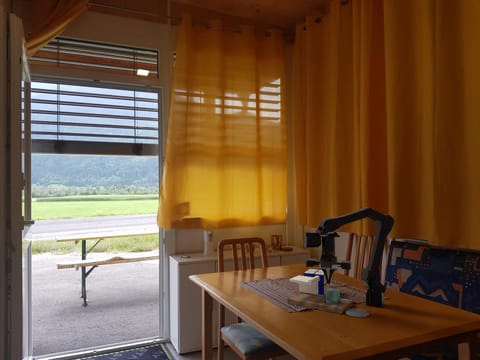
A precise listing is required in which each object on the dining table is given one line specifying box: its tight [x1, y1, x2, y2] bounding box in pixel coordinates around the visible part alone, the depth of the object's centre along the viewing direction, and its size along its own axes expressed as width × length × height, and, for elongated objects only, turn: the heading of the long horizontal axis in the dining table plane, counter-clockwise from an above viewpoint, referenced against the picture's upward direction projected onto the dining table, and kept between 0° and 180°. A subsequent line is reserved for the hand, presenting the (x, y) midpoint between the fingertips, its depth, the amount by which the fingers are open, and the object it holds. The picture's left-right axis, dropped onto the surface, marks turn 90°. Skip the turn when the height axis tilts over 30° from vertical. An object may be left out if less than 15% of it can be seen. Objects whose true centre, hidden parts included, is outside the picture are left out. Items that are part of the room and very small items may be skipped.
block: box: [325, 287, 341, 305], centre depth 155 cm, size 4×4×7 cm
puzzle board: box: [287, 292, 354, 315], centre depth 158 cm, size 24×14×2 cm, turn 54°
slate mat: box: [344, 308, 369, 318], centre depth 146 cm, size 9×9×1 cm
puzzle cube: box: [302, 268, 330, 296], centre depth 177 cm, size 10×10×10 cm
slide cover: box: [289, 275, 319, 294], centre depth 163 cm, size 10×10×8 cm
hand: (328, 284), depth 156 cm, fingers closed
